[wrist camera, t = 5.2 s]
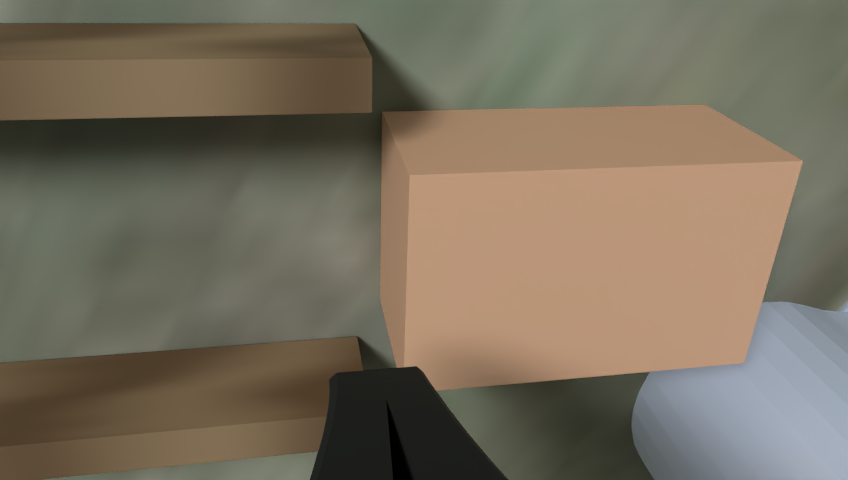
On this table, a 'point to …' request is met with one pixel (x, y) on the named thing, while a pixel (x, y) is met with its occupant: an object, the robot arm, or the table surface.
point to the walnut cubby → (189, 368)
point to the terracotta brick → (575, 240)
